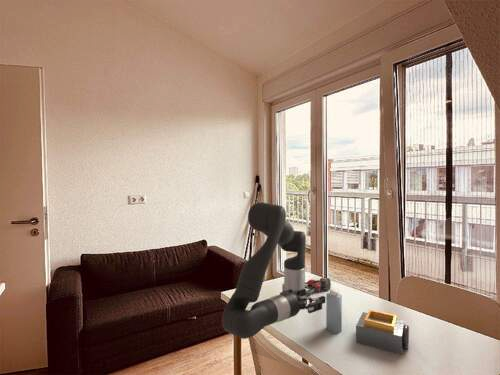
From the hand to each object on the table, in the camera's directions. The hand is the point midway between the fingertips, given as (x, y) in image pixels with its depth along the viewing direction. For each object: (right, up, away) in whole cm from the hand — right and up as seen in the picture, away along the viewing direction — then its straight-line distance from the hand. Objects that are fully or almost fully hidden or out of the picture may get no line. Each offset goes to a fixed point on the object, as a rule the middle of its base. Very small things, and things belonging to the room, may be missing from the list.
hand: (314, 295), depth 103 cm
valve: (+8, -15, +46) cm, 49 cm away
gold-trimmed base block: (+23, -16, 0) cm, 28 cm away
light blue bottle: (+9, -16, +7) cm, 19 cm away
